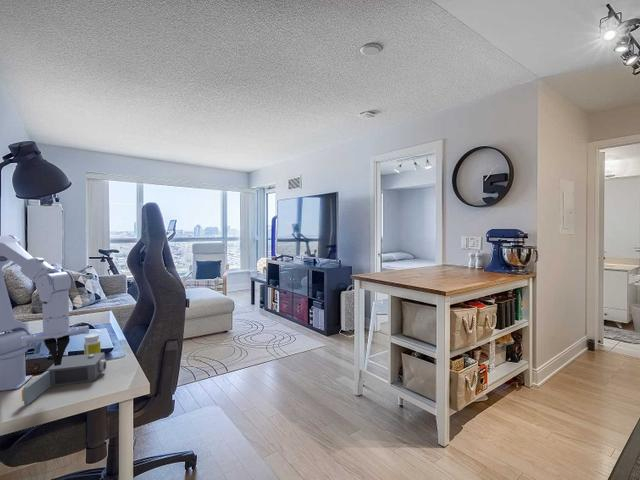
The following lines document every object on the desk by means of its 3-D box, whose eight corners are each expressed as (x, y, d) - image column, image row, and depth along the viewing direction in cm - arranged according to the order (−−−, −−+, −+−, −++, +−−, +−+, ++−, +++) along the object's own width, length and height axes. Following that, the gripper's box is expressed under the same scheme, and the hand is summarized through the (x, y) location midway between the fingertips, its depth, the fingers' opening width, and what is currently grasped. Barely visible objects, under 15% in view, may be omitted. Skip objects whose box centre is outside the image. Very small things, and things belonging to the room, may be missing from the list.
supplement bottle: (103, 356, 118) (103, 333, 118) (93, 362, 113) (92, 338, 113) (91, 356, 118) (90, 333, 118) (80, 361, 114) (80, 337, 113)
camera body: (46, 387, 96) (46, 368, 96) (61, 372, 105) (60, 355, 105) (100, 380, 100) (100, 362, 100) (109, 366, 110) (109, 350, 109)
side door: (44, 386, 95) (43, 371, 95) (50, 386, 96) (50, 370, 96) (21, 404, 86) (20, 387, 86) (28, 404, 86) (27, 387, 86)
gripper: (21, 324, 83) (22, 377, 84) (90, 313, 93) (91, 361, 94) (20, 318, 88) (21, 368, 89) (86, 309, 98) (87, 354, 99)
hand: (57, 364), depth 91 cm, fingers closed
